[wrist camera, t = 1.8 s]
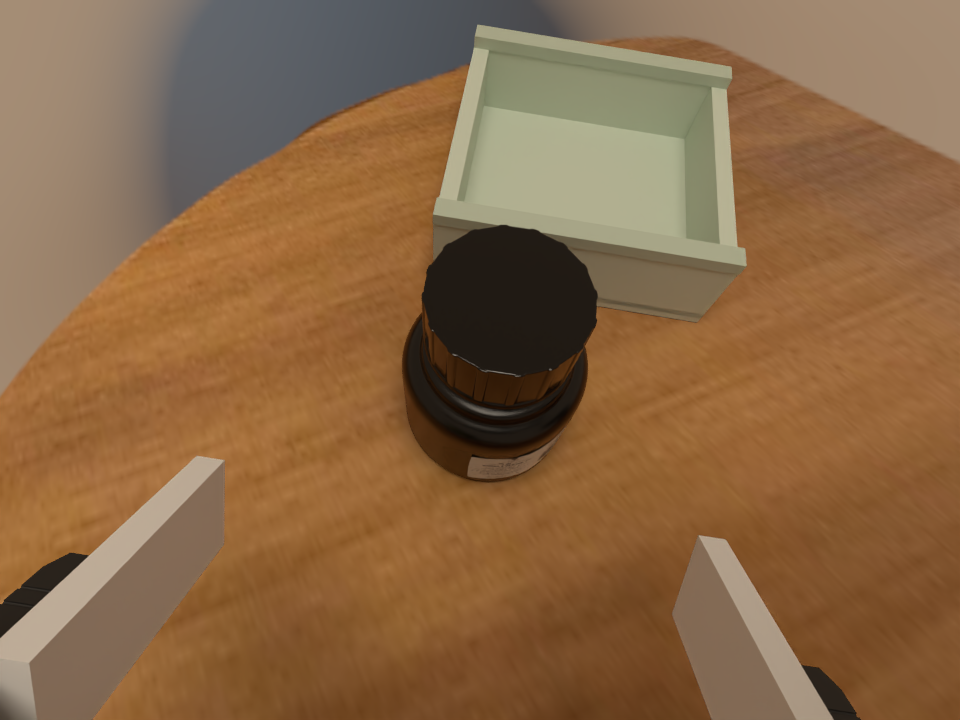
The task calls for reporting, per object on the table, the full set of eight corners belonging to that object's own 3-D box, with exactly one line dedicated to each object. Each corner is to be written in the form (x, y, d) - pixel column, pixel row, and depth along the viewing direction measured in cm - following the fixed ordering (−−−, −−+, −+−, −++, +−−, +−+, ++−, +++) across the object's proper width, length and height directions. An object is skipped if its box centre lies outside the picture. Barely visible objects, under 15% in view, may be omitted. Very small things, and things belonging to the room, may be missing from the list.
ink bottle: (500, 523, 29) (538, 463, 19) (370, 427, 31) (336, 320, 20) (593, 387, 33) (669, 272, 22) (472, 308, 35) (489, 165, 24)
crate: (691, 141, 43) (731, 66, 37) (696, 324, 36) (746, 266, 30) (471, 104, 43) (477, 24, 37) (433, 280, 36) (432, 214, 30)
